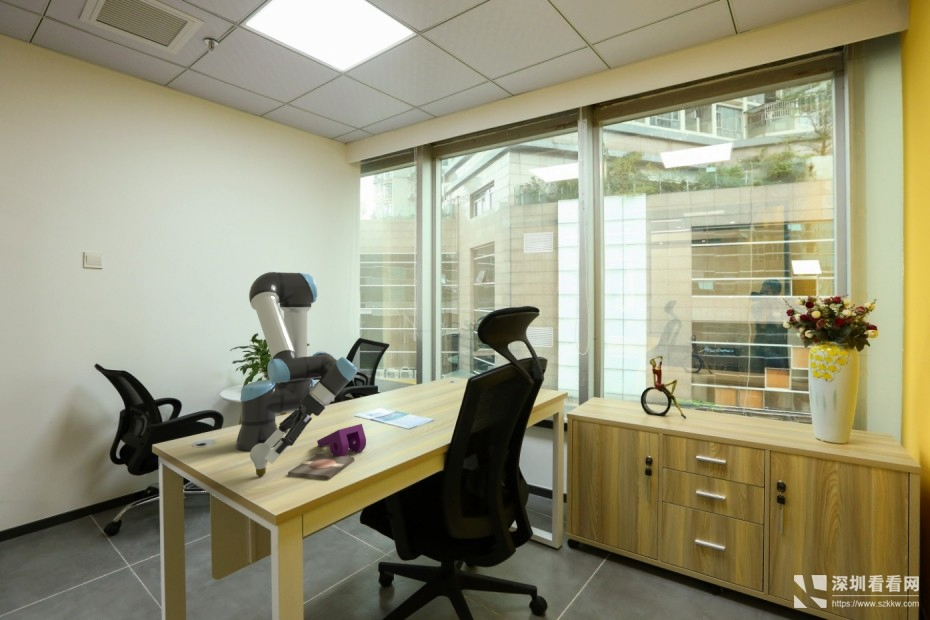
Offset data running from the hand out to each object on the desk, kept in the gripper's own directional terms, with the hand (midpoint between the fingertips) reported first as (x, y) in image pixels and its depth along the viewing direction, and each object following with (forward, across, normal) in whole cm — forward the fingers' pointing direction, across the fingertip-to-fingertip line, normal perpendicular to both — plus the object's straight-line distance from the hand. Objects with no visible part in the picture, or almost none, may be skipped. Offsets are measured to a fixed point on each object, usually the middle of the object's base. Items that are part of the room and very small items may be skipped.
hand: (267, 454), depth 134 cm
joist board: (-6, 0, -16) cm, 18 cm away
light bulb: (+6, +1, -4) cm, 7 cm away
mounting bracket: (-12, +15, -22) cm, 29 cm away
